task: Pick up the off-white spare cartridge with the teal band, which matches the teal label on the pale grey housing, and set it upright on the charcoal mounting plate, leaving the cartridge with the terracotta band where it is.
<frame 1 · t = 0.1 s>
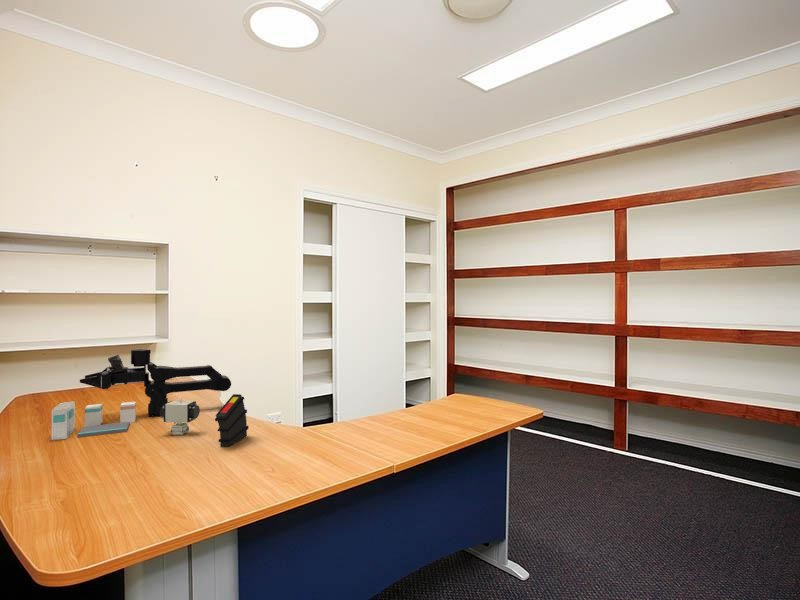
hand: (82, 379, 160), 17 cm above the table, fingers open, 9 cm apart
mounting plate: (105, 430, 150), on the table
pneumatic valve: (180, 434, 147), on the table
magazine: (232, 443, 138), on the table
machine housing: (63, 434, 146), on the table
terracotta cartridge: (128, 421, 162), on the table
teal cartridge: (93, 424, 158), on the table
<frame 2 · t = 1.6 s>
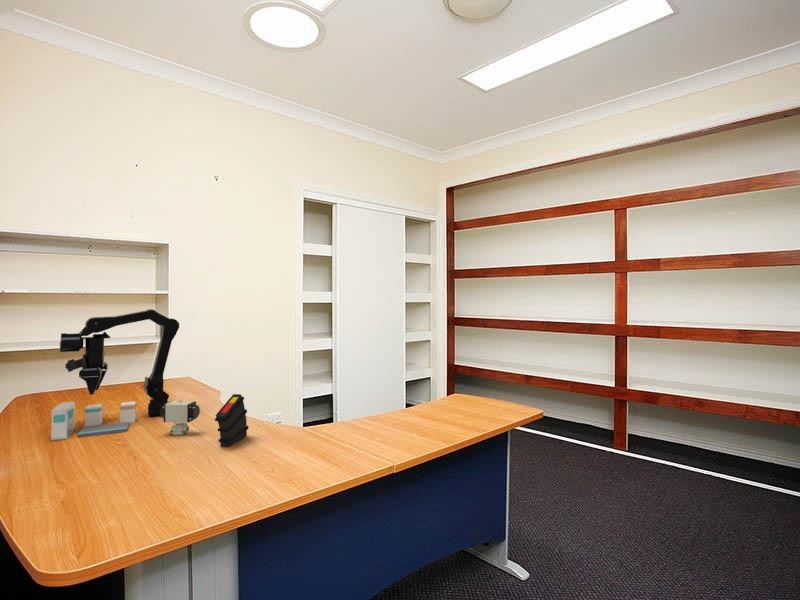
hand: (93, 392, 158), 12 cm above the table, fingers open, 9 cm apart
nothing on the table moved.
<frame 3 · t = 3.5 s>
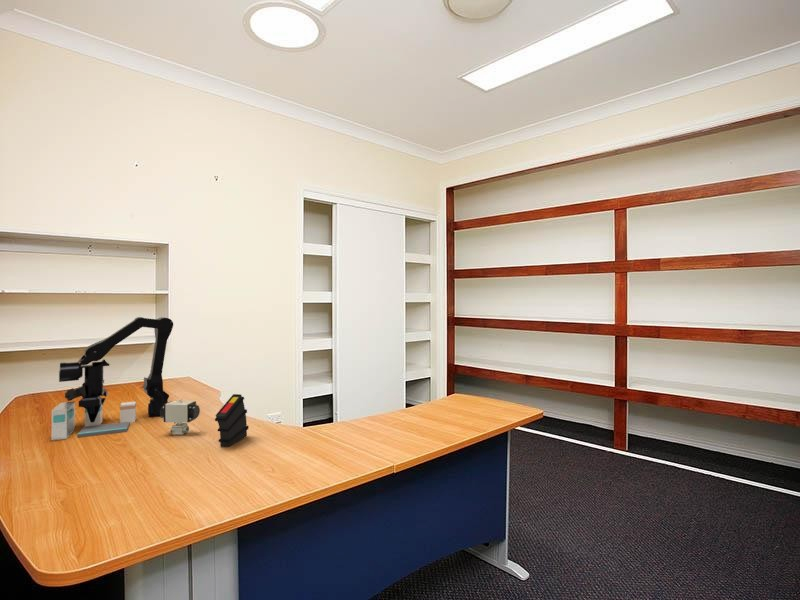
hand: (93, 420, 158), 2 cm above the table, fingers closed on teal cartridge, 5 cm apart
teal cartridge: (93, 424, 158), on the table, touching gripper
everything else where it was.
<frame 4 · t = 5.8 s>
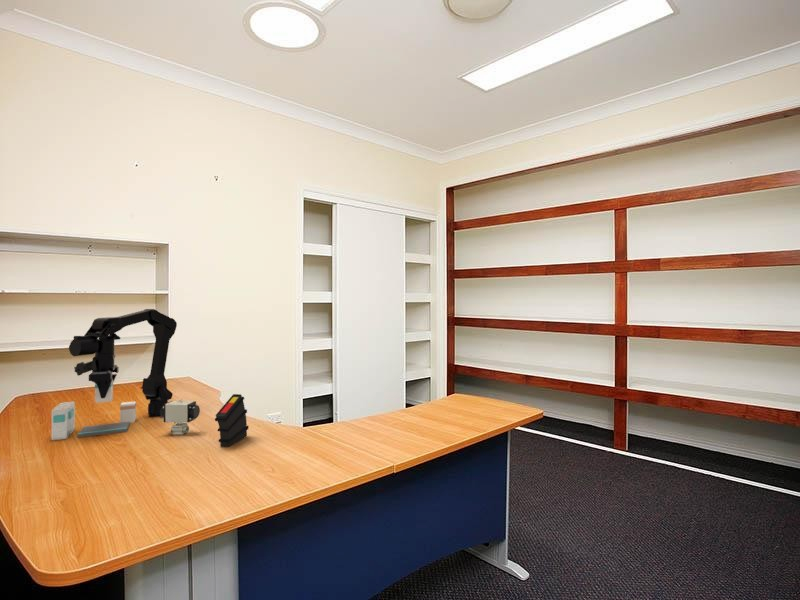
hand: (104, 396, 151), 12 cm above the table, fingers closed on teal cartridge, 5 cm apart
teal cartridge: (104, 400, 151), point 10 cm above the table, touching gripper
everything else where it was.
when the fingers open (3 cm above the table, at t = 8.2 s): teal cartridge stays where it is, resting on mounting plate.
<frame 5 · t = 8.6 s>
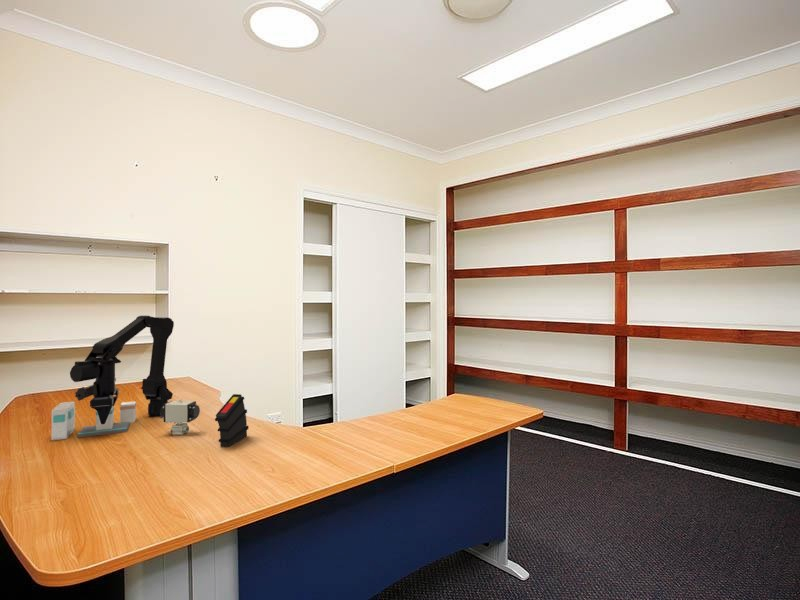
hand: (105, 420, 150), 3 cm above the table, fingers open, 9 cm apart
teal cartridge: (104, 427, 150), point 1 cm above the table, touching mounting plate
everything else where it was.
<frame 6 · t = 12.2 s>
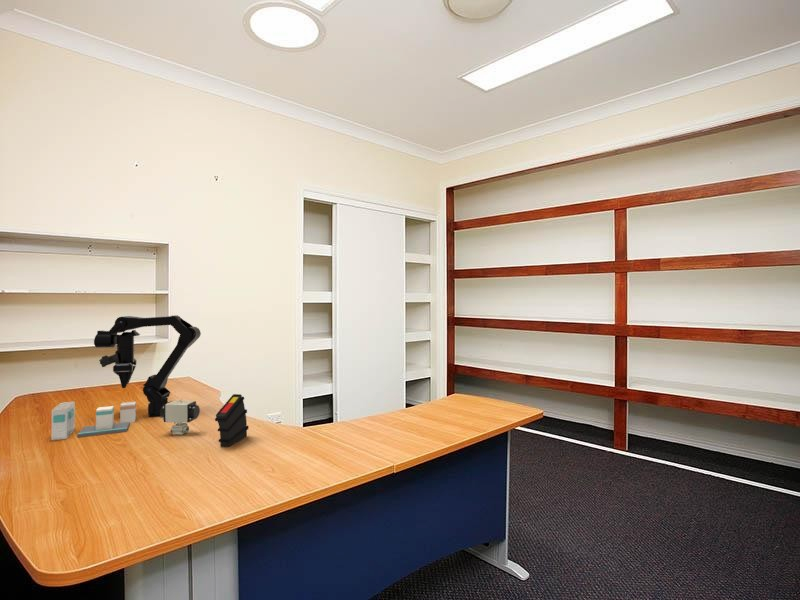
hand: (125, 386, 170), 12 cm above the table, fingers open, 9 cm apart
nothing on the table moved.
at the end: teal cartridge 0.0 cm off-centre on the mounting plate, point 1.0 cm above the mounting plate's base; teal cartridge tilted 0°; the gripper is holding nothing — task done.
